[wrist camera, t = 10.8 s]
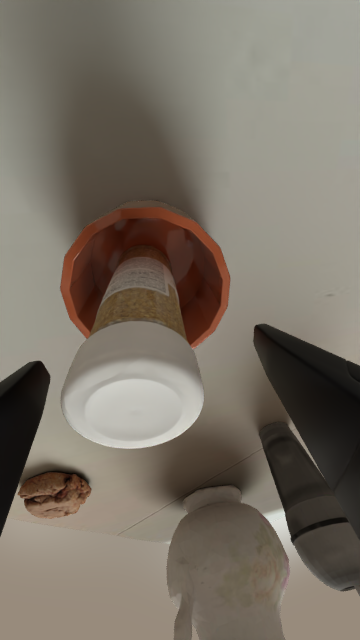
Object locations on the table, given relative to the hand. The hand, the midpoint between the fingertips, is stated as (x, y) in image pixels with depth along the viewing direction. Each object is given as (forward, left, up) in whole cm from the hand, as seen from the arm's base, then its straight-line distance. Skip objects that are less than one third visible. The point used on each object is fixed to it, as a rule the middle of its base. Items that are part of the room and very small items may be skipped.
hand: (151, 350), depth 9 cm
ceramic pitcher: (-40, -24, -11) cm, 48 cm away
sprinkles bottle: (0, 0, -11) cm, 11 cm away
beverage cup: (-18, -25, -11) cm, 33 cm away
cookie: (-38, +3, -11) cm, 40 cm away
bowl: (0, 0, -11) cm, 11 cm away
